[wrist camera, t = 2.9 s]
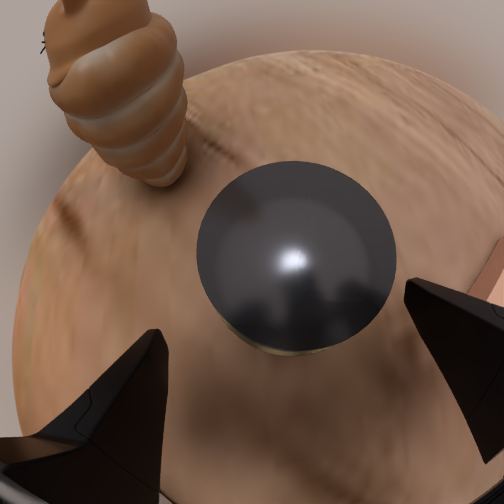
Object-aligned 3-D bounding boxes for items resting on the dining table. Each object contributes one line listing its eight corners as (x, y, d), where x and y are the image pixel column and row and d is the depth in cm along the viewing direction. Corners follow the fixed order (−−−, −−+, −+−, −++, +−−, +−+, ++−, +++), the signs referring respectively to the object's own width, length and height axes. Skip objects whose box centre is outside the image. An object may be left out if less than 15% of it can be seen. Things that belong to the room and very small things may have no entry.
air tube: (271, 368, 16) (280, 403, 4) (231, 316, 18) (154, 227, 6) (323, 327, 17) (434, 260, 5) (283, 277, 18) (307, 132, 6)
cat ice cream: (118, 161, 23) (26, 3, 6) (194, 126, 24) (145, -54, 7) (135, 238, 20) (-24, 44, 3) (229, 196, 21) (172, -61, 4)
